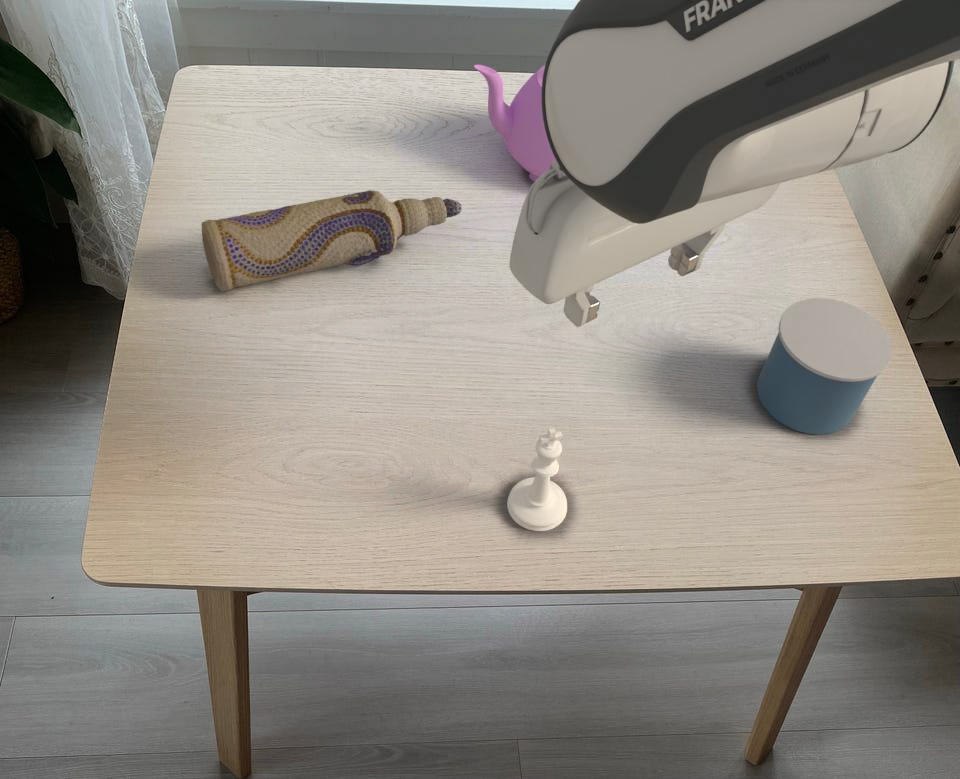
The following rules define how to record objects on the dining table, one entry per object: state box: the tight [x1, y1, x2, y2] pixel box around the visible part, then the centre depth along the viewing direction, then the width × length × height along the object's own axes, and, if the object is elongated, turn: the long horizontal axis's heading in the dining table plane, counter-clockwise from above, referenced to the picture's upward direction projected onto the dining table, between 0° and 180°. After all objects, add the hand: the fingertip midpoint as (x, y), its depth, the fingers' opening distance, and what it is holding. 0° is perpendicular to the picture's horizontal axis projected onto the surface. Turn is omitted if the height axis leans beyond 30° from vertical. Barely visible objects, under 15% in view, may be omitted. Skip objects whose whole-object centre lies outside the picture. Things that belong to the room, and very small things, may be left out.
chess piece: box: [506, 427, 568, 532], centre depth 74 cm, size 5×5×10 cm
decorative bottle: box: [200, 189, 463, 292], centre depth 93 cm, size 26×8×7 cm, turn 112°
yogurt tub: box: [756, 297, 893, 436], centre depth 85 cm, size 10×10×8 cm
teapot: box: [473, 64, 556, 183], centre depth 104 cm, size 20×14×12 cm
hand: (632, 292), depth 65 cm, fingers open, 8 cm apart
